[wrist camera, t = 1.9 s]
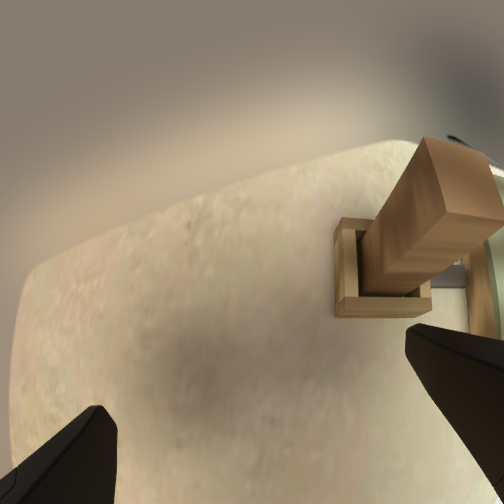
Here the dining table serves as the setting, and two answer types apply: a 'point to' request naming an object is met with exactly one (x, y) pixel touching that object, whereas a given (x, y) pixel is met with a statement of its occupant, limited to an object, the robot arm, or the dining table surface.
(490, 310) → the wooden box with frame
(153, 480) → the dining table surface
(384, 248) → the brown wooden block
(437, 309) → the dining table surface
